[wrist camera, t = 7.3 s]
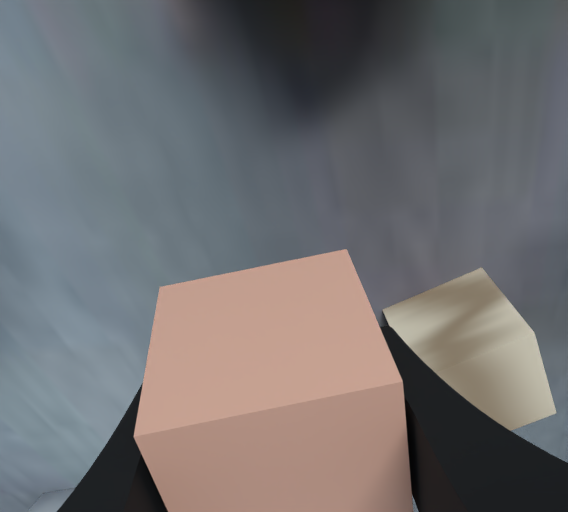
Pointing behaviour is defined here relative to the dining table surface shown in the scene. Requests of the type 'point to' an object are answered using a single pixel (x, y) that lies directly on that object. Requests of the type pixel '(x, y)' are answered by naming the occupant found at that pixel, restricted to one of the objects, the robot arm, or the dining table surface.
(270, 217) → the dining table surface
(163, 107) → the dining table surface
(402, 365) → the robot arm
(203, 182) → the dining table surface
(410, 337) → the maple block
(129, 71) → the dining table surface
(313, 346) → the terracotta block
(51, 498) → the salt shaker
